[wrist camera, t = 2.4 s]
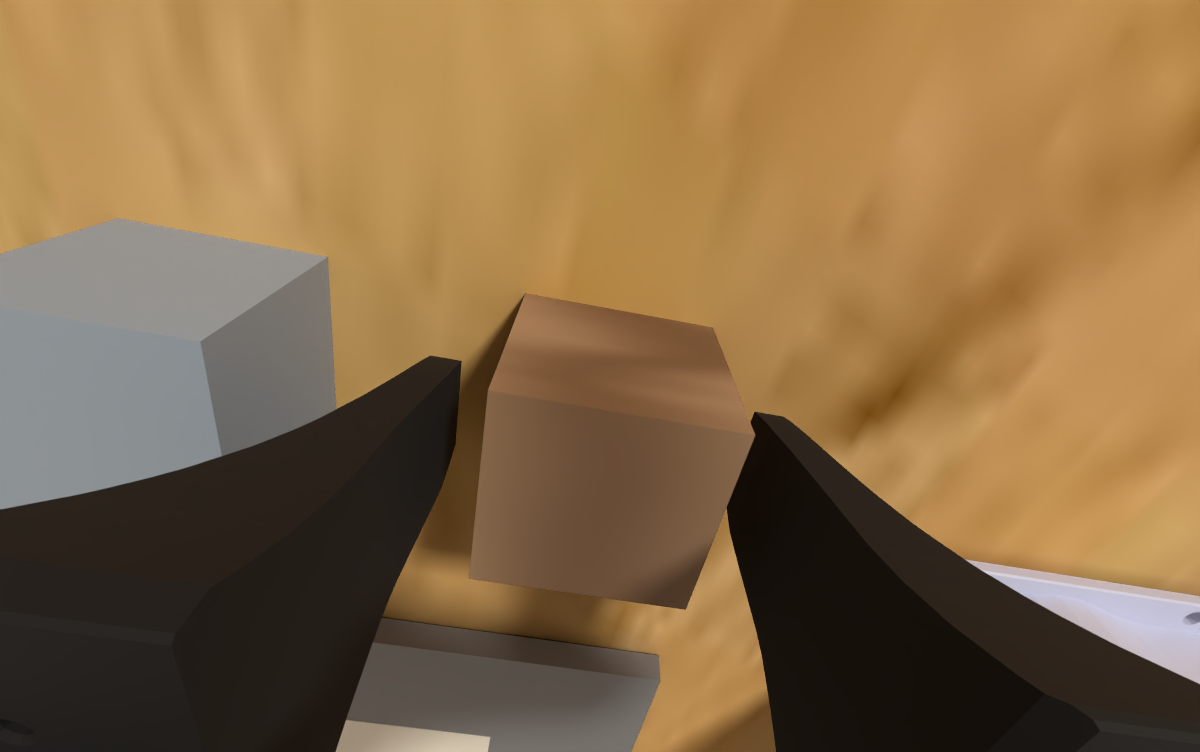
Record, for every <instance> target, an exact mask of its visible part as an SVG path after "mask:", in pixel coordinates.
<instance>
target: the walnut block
mask: <svg viewBox="0 0 1200 752" xmlns="http://www.w3.org/2000/svg"><path fill="white" fill-rule="evenodd" d="M754 437H755V433H754V431H753V428H752V425H751V423H750V420H749V418H748V415H747V413H746V410H745V408H744V405H743V403H742V400H741V398H740V395H739V393H738V390H737V387H736V385H735V382H734V380H733V377H732V375H731V372H730V370H729V367H728V365H727V362H726V360H725V357H724V355H723V352H722V349H721V347H720V344H719V342H718V339H717V337H716V334H715V332H714V329H713V328H712V327H707V326H701V325H696V324H690V323H685V322H679V321H674V320H668V319H663V318H657V317H652V316H646V315H641V314H635V313H630V312H624V311H619V310H613V309H608V308H602V307H597V306H591V305H586V304H580V303H575V302H569V301H564V300H558V299H553V298H547V297H542V296H537V295H531V294H526V293H525V296H524V298H523V301H522V303H521V306H520V309H519V311H518V314H517V316H516V319H515V322H514V324H513V327H512V329H511V332H510V335H509V337H508V340H507V342H506V345H505V347H504V350H503V353H502V355H501V358H500V360H499V363H498V366H497V368H496V371H495V373H494V376H493V379H492V381H491V384H490V386H489V389H488V395H487V405H486V414H485V424H484V434H483V444H482V454H481V464H480V473H479V483H478V493H477V503H476V513H475V523H474V532H473V542H472V552H471V562H470V572H469V579H474V580H481V581H488V582H495V583H502V584H509V585H516V586H524V587H531V588H538V589H545V590H552V591H559V592H566V593H573V594H580V595H587V596H594V597H601V598H608V599H615V600H622V601H629V602H636V603H643V604H650V605H657V606H664V607H671V608H678V609H685V610H686V607H687V605H688V602H689V600H690V597H691V595H692V592H693V590H694V587H695V585H696V582H697V580H698V577H699V575H700V572H701V570H702V567H703V565H704V562H705V560H706V557H707V555H708V552H709V550H710V547H711V545H712V542H713V540H714V537H715V535H716V532H717V530H718V527H719V525H720V522H721V520H722V517H723V515H724V512H725V510H726V507H727V505H728V502H729V500H730V497H731V495H732V492H733V490H734V487H735V485H736V482H737V480H738V477H739V475H740V472H741V470H742V467H743V465H744V462H745V460H746V457H747V455H748V452H749V450H750V447H751V445H752V442H753V440H754Z"/></svg>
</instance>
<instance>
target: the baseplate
mask: <svg viewBox="0 0 1200 752" xmlns="http://www.w3.org/2000/svg"><path fill="white" fill-rule="evenodd" d="M659 683H660V668H659V656H658V655H652V654H645V653H638V652H630V651H623V650H616V649H608V648H601V647H594V646H586V645H579V644H571V643H564V642H557V641H549V640H542V639H535V638H527V637H520V636H513V635H505V634H498V633H491V632H483V631H476V630H468V629H461V628H454V627H446V626H439V625H432V624H424V623H417V622H410V621H402V620H395V619H387V618H382V619H381V621H380V624H379V627H378V630H377V633H376V635H375V638H374V641H373V644H372V646H371V649H370V652H369V655H368V658H367V660H366V663H365V666H364V669H363V672H362V675H361V678H360V681H359V684H358V687H357V689H356V692H355V695H354V698H353V701H352V704H351V707H350V710H349V713H348V716H347V719H346V722H345V725H344V728H343V731H342V734H341V737H340V740H339V743H338V746H337V749H336V752H631V751H632V749H633V746H634V744H635V741H636V739H637V737H638V734H639V732H640V729H641V727H642V724H643V722H644V719H645V717H646V715H647V712H648V710H649V707H650V705H651V702H652V700H653V697H654V695H655V693H656V690H657V688H658V685H659Z"/></svg>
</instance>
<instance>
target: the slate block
mask: <svg viewBox="0 0 1200 752" xmlns="http://www.w3.org/2000/svg"><path fill="white" fill-rule="evenodd" d="M334 410H336V395H335V377H334V359H333V341H332V323H331V306H330V288H329V270H328V257H325V256H320V255H315V254H309V253H304V252H298V251H293V250H288V249H282V248H277V247H271V246H266V245H260V244H255V243H250V242H244V241H239V240H233V239H228V238H223V237H217V236H212V235H206V234H201V233H195V232H190V231H185V230H179V229H174V228H168V227H163V226H157V225H152V224H147V223H141V222H136V221H130V220H125V219H120V218H118V219H115V220H111V221H108V222H105V223H102V224H98V225H95V226H92V227H88V228H85V229H82V230H78V231H75V232H72V233H68V234H65V235H62V236H58V237H55V238H52V239H49V240H45V241H42V242H39V243H35V244H32V245H29V246H25V247H22V248H19V249H15V250H12V251H9V252H6V253H2V254H0V509H5V508H11V507H16V506H21V505H26V504H31V503H37V502H42V501H47V500H52V499H58V498H63V497H68V496H73V495H78V494H83V493H87V492H92V491H96V490H101V489H105V488H109V487H114V486H118V485H122V484H126V483H130V482H134V481H138V480H142V479H146V478H150V477H154V476H157V475H161V474H165V473H169V472H172V471H176V470H180V469H183V468H186V467H190V466H193V465H196V464H199V463H202V462H205V461H208V460H211V459H214V458H217V457H221V456H224V455H227V454H230V453H233V452H236V451H239V450H242V449H245V448H248V447H251V446H254V445H256V444H259V443H262V442H264V441H267V440H269V439H272V438H274V437H277V436H279V435H282V434H284V433H287V432H289V431H292V430H294V429H296V428H299V427H301V426H303V425H305V424H308V423H310V422H312V421H314V420H316V419H318V418H320V417H322V416H324V415H326V414H328V413H330V412H332V411H334Z"/></svg>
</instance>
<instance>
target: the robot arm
mask: <svg viewBox="0 0 1200 752" xmlns="http://www.w3.org/2000/svg"><path fill="white" fill-rule="evenodd" d="M461 362H462V361H458V360H453V359H447V358H441V357H435V356H429V357H427V358H425V359H423V360H422V361H420V362H418V363H417V364H415V365H413V366H412V367H410V368H409V369H407V370H405V371H404V372H402V373H400V374H399V375H397V376H396V377H394V378H392V379H391V380H389V381H387V382H385V383H384V384H382V385H380V386H379V387H377V388H375V389H373V390H372V391H370V392H368V393H367V394H365V395H363V396H361V397H359V398H357V399H355V400H353V401H352V402H350V403H348V404H346V405H344V406H342V407H340V408H338V409H336V410H334V411H332V412H330V413H328V414H326V415H324V416H322V417H320V418H318V419H316V420H314V421H312V422H310V423H308V424H305V425H303V426H301V427H299V428H296V429H294V430H292V431H289V432H287V433H284V434H282V435H279V436H277V437H274V438H272V439H269V440H267V441H264V442H262V443H259V444H256V445H254V446H251V447H248V448H245V449H242V450H239V451H236V452H233V453H230V454H227V455H224V456H221V457H217V458H214V459H211V460H208V461H205V462H202V463H199V464H196V465H193V466H190V467H186V468H183V469H180V470H176V471H172V472H169V473H165V474H161V475H157V476H154V477H150V478H146V479H142V480H138V481H134V482H130V483H126V484H122V485H118V486H114V487H109V488H105V489H101V490H96V491H92V492H87V493H83V494H78V495H73V496H68V497H63V498H58V499H52V500H47V501H42V502H37V503H31V504H26V505H21V506H16V507H11V508H5V509H0V752H336V749H337V746H338V743H339V740H340V737H341V734H342V731H343V728H344V725H345V722H346V719H347V716H348V713H349V710H350V707H351V704H352V701H353V698H354V695H355V692H356V689H357V687H358V684H359V681H360V678H361V675H362V672H363V669H364V666H365V663H366V660H367V658H368V655H369V652H370V649H371V646H372V644H373V641H374V638H375V635H376V633H377V630H378V627H379V624H380V621H381V619H382V616H383V613H384V610H385V608H386V605H387V602H388V600H389V598H390V595H391V593H392V591H393V588H394V586H395V584H396V581H397V579H398V577H399V575H400V573H401V571H402V569H403V567H404V565H405V563H406V561H407V558H408V556H409V554H410V552H411V550H412V548H413V546H414V544H415V542H416V540H417V538H418V536H419V533H420V531H421V529H422V527H423V525H424V523H425V521H426V519H427V517H428V515H429V513H430V511H431V508H432V506H433V504H434V502H435V500H436V498H437V496H438V494H439V491H440V489H441V487H442V484H443V481H444V478H445V475H446V472H447V469H448V466H449V463H450V460H451V457H452V454H453V451H454V447H455V443H456V429H457V416H458V402H459V389H460V375H461ZM751 425H752V428H753V431H754V433H755V437H754V440H753V442H752V445H751V447H750V450H749V452H748V455H747V457H746V460H745V462H744V465H743V467H742V470H741V472H740V475H739V477H738V480H737V482H736V485H735V487H734V490H733V492H732V495H731V497H730V500H729V502H728V505H727V514H728V521H729V529H730V534H731V538H732V542H733V546H734V550H735V554H736V557H737V561H738V565H739V569H740V573H741V576H742V580H743V584H744V587H745V591H746V595H747V598H748V602H749V606H750V609H751V613H752V617H753V620H754V624H755V628H756V631H757V636H758V640H759V645H760V649H761V654H762V659H763V665H764V671H765V677H766V684H767V690H768V696H769V702H770V709H771V716H772V723H773V731H774V738H775V746H776V752H1200V596H1195V595H1189V594H1182V593H1176V592H1170V591H1163V590H1157V589H1151V588H1144V587H1138V586H1131V585H1125V584H1119V583H1112V582H1106V581H1099V580H1093V579H1087V578H1080V577H1074V576H1067V575H1061V574H1055V573H1048V572H1042V571H1035V570H1029V569H1023V568H1016V567H1010V566H1004V565H997V564H991V563H984V562H978V561H972V560H965V559H963V558H962V557H960V556H959V555H957V554H956V553H954V552H953V551H951V550H950V549H948V548H947V547H945V546H944V545H943V544H941V543H940V542H938V541H937V540H935V539H934V538H932V537H931V536H930V535H928V534H927V533H925V532H924V531H922V530H921V529H920V528H918V527H917V526H916V525H914V524H913V523H911V522H910V521H909V520H907V519H906V518H905V517H904V516H902V515H901V514H900V513H898V512H897V511H896V510H895V509H893V508H892V507H891V506H890V505H888V504H887V503H886V502H885V501H883V500H882V499H881V498H879V497H878V496H877V495H876V494H875V493H873V492H872V491H871V490H870V489H869V488H867V487H866V486H865V485H864V484H862V483H861V482H860V481H859V480H858V479H857V478H855V477H854V476H853V475H852V474H851V473H850V472H848V471H847V470H846V469H845V468H844V467H843V466H842V465H840V464H839V463H838V462H837V461H836V460H835V459H834V458H832V457H831V456H830V455H829V454H828V453H827V452H826V451H825V450H823V449H822V448H821V447H820V446H819V445H818V444H817V443H815V442H814V441H813V440H812V439H811V438H810V437H809V436H807V435H806V434H805V433H804V432H803V431H802V430H800V429H799V428H798V427H797V426H795V425H794V424H793V423H792V422H790V421H789V420H787V419H786V418H785V417H782V416H776V415H770V414H765V413H759V412H754V415H753V418H752V420H751Z"/></svg>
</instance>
